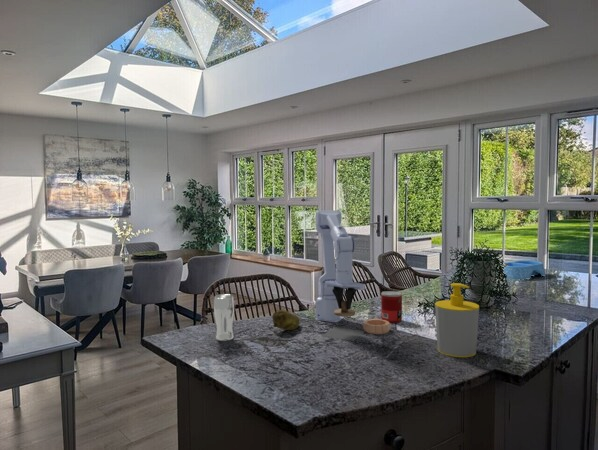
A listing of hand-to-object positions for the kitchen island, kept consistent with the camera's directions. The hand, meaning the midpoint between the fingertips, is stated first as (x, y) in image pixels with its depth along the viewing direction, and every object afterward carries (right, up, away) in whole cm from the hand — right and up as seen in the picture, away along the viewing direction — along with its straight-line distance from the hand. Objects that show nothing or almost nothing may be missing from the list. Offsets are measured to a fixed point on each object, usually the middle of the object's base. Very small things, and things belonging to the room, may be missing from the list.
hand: (344, 308), depth 153 cm
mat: (0, -9, 0) cm, 9 cm away
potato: (-21, -10, +7) cm, 24 cm away
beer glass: (-42, -10, -2) cm, 44 cm away
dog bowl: (+121, -2, +112) cm, 164 cm away
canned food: (+20, -8, +18) cm, 28 cm away
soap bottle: (+33, -10, -18) cm, 39 cm away
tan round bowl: (+12, -9, +4) cm, 16 cm away
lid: (0, -2, 0) cm, 2 cm away
